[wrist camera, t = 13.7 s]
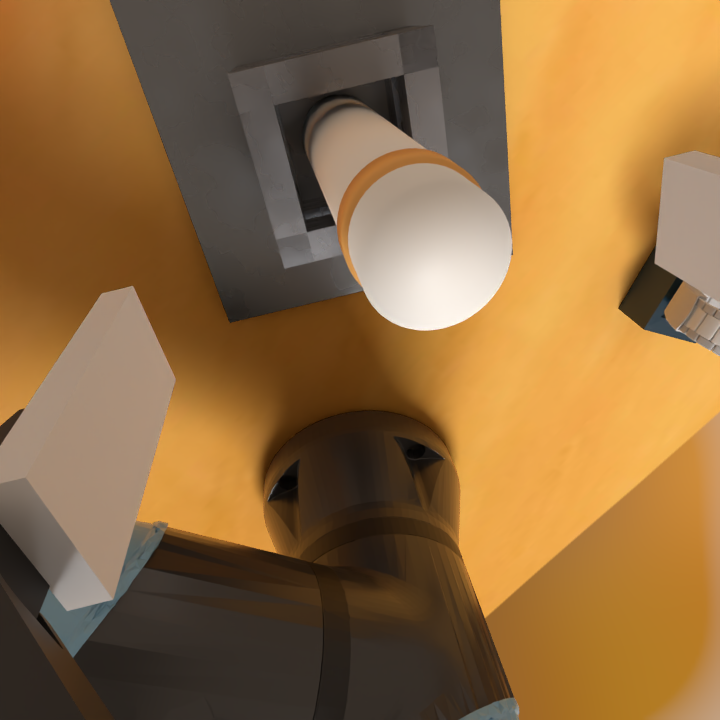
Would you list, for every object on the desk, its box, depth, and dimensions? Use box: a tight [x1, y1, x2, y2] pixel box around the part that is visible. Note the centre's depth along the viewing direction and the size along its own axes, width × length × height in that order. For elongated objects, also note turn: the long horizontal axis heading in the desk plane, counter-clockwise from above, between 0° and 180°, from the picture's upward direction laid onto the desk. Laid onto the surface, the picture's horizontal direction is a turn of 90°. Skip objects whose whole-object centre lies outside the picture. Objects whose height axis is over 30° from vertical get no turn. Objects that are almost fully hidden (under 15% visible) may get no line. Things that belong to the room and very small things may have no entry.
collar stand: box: [110, 0, 513, 323], centre depth 27 cm, size 18×18×6 cm
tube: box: [302, 94, 512, 330], centre depth 22 cm, size 4×4×18 cm
